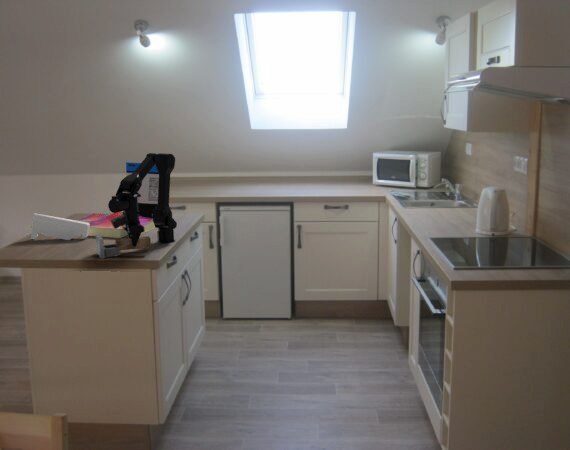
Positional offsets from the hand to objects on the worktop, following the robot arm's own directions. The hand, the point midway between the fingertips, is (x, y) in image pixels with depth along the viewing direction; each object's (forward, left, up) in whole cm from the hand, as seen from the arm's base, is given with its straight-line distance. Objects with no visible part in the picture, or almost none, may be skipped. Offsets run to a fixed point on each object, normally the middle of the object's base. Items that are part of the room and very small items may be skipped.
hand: (133, 245), depth 265 cm
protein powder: (-22, -65, -3) cm, 69 cm away
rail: (0, 0, -1) cm, 1 cm away
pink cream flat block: (+1, -46, -4) cm, 46 cm away
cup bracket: (+9, 0, -3) cm, 10 cm away
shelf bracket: (+25, -39, -3) cm, 47 cm away
